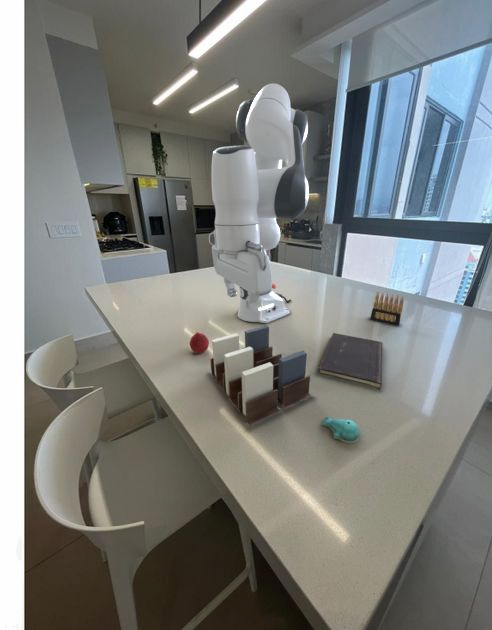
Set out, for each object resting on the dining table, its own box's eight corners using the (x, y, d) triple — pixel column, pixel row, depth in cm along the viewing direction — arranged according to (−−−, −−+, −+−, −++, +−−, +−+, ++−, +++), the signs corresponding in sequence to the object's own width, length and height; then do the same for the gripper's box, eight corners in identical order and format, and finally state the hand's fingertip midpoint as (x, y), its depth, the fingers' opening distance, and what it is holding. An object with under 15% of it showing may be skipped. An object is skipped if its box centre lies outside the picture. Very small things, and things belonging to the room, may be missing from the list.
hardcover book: (318, 375, 72) (318, 368, 71) (332, 338, 92) (333, 332, 91) (380, 390, 66) (382, 383, 66) (381, 348, 86) (383, 342, 85)
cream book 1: (237, 367, 74) (236, 333, 70) (240, 370, 73) (239, 335, 68) (214, 375, 71) (211, 339, 66) (217, 378, 69) (214, 342, 65)
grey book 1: (265, 357, 79) (266, 325, 74) (268, 360, 77) (269, 327, 73) (245, 364, 75) (244, 330, 71) (248, 367, 74) (247, 333, 70)
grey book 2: (300, 387, 66) (303, 350, 62) (303, 390, 65) (307, 353, 60) (277, 397, 63) (278, 358, 58) (281, 401, 62) (282, 361, 57)
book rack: (263, 356, 81) (263, 339, 78) (311, 398, 64) (313, 378, 61) (210, 374, 72) (208, 356, 70) (249, 428, 55) (248, 406, 53)
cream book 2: (250, 383, 68) (250, 346, 63) (253, 386, 66) (253, 349, 62) (226, 392, 64) (223, 354, 60) (228, 396, 63) (226, 357, 59)
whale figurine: (350, 452, 50) (353, 438, 48) (317, 432, 54) (318, 418, 53) (362, 434, 54) (365, 420, 52) (330, 416, 58) (332, 403, 57)
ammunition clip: (369, 319, 106) (375, 291, 102) (370, 318, 108) (376, 290, 103) (398, 326, 101) (405, 297, 96) (399, 324, 102) (406, 295, 97)
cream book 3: (268, 401, 61) (269, 362, 57) (272, 405, 60) (273, 365, 56) (242, 412, 58) (241, 372, 54) (246, 417, 57) (244, 375, 53)
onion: (213, 350, 84) (211, 328, 81) (203, 360, 79) (201, 336, 76) (197, 347, 86) (194, 325, 83) (187, 356, 81) (184, 333, 78)
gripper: (280, 243, 46) (279, 314, 52) (230, 232, 62) (234, 287, 68) (249, 247, 43) (252, 322, 49) (205, 235, 59) (211, 292, 65)
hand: (241, 302), depth 58 cm, fingers open, 8 cm apart
